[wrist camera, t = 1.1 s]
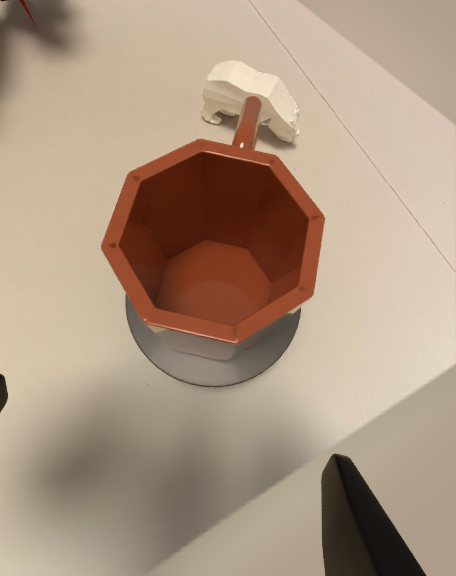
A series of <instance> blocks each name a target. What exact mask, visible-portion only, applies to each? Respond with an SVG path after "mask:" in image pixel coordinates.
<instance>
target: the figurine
mask: <svg viewBox="0 0 456 576" xmlns="http://www.w3.org/2000/svg"><path fill="white" fill-rule="evenodd" d="M249 96H256V97H258V98H259V99H260V100H261V102H262V114H261V119H260V125H268V127H269V128H270V129H271V130H272V131H273V132H274V133H275V135H276V136H277V137H278V139H280V140H283V141H286V142H291V141H293V140H292V139H293V138H292V137H295V136H297V135H299V132H300V130H299V129H298V127H297V120H298V116H299V114H298V113H299V112H300V109H297V106H296V103H295V101H294V100H293V98H292V97H291V96H290V94H289V93H288V91H287V90H286V88H285V86H284V85H283V83H282V81H281V79H280V78H278V77H276V76H274V75H271V74H266V73H260V72H258V71H256V70H254V69H253V68H251V67H249V66H247V65H246V64H244V63H242V62H240V61H227V62H220V63H218V64H217V65H216V66H215V67H214V68H213V69H212V71H211V73H210V75H209V76H208V78H207V80H206V84H205V89H204V92H203V99H204V101H205V103H204V107H203V109H202V110H201V113H202V115H203V117H204V119H205V120H206V121H209V122H211V123H213V124H214V123H215V124H217V123H219V122H221V121H220V120H221V118H220V117H218V116H216V114H215V112H217V111H220V112H221V113H223V114H225V115H229V116H234V115H236V114H237V115H240V112H241V108H242V105H243V102H244V100H245V99H246V98H248V97H249ZM219 124H220V123H219ZM258 136H259V135H258ZM258 136H257V137H258ZM258 138H259V137H258Z"/></svg>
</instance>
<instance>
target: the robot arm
mask: <svg viewBox="0 0 456 576" xmlns="http://www.w3.org/2000/svg"><path fill="white" fill-rule="evenodd" d="M7 399H8V392H7V387H6V381H5V377H4V376H3V375H2V374H0V412H1V411H2V409H3V408H4V406H5V404H6V402H7ZM321 485H322V487H321V488H322V490H321V491H322V547H323V558H324V567H325V576H426V574H425V573H424V571H423V570H422V568H421V567H420V565H419V564H418V562H417V560H416V559H415V557H414V556H413V554H412V553H411V551H410V550H409V548H408V547H407V545H406V544H405V542H404V540H403V539H402V537H401V536H400V534H399V533H398V531H397V530H396V528H395V526H394V525H393V523H392V522H391V520H390V519H389V517H388V516H387V514H386V513H385V511H384V510H383V508H382V506H381V505H380V504H379V502H378V500H377V499H376V497H375V496H374V494H373V493H372V491H371V490H370V488H369V486H368V485H367V483H366V482H365V480H364V479H363V477H362V476H361V474H360V472H359V471H358V469H357V468H356V466H355V465H354V463H353V462H352V460H351V459H350V458H349V457H347V456H344V455H340V454H333V455H332V456H331V457H330V459H329V461H328V463H327V465H326V467H325V468H324V470H323V473H322V480H321Z"/></svg>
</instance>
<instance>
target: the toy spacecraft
mask: <svg viewBox="0 0 456 576" xmlns="http://www.w3.org/2000/svg"><path fill="white" fill-rule="evenodd" d="M1 1H7V0H1ZM20 2H21V3H22V5H23V6H24V8H25V10H26V11H27V13H28V15H29V16H30V18H31V20H32V21H33V19H32V17H31V15H30V13H29V11H28V9H27V7H26V4H25V2H24V0H20ZM33 23H34V21H33ZM34 24H35V23H34ZM35 26H36V25H35ZM36 28H37V27H36Z"/></svg>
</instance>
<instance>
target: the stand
mask: <svg viewBox="0 0 456 576" xmlns="http://www.w3.org/2000/svg"><path fill="white" fill-rule="evenodd" d="M300 313H301V307H300V308H299V309H298V310H297V311H296V312H295V313H293V314H292V315H291V316H290V317H289V318H288V319H287V320H286V321H284V322H283V323H282V324H281V325H280V326H279V327H278V328H277V329H275V330H274V331H273V332H272V333H271V334H269V335H268V336H266V337H264V338H263V339H261V340H260V341H258V342H257V343H256V344H254V345H253V346H252V347H250V348H249V349H247V350H245V351H244V352H242V353H240V354H238V355H237V356H235V357H234V358H232V359H230V360H229V361H226V362H224V361H220V360H216V359H208V358H202V357H197V356H194V355H191V354H189V353H186V352H181V351H177V350H173V349H172V348H170V347H169V346H168V345H167V344H166V343H165V342H164V341H163V340H162V339H161V338H160V337H159V336H157V335H156V334H155V333H154V332H153V331H152V330H151V329H150V328H149V327H148V326H147V325H146V324H145V323H143V322H142V320H141V318H140V316H139V315H138V313H137V311H136V309H135V308H134V306H133V304H132V302H131V301H130V299H129V297H128V295H127V294H126V314H127V320H128V324H129V327H130V330H131V333H132V335H133V337H134V339H135V341H136V343H137V345H138V346H139V348H140V349H141V351H142V352H143V353H144V355H145V356H146V357H147V358H148V359H149V360H150V361H151V362H152V363H153V364H154V365H155V366H156V367H157V368H159V369H160V370H162V371H163V372H165V373H166V374H167V375H169V376H171V377H173V378H175V379H177V380H180V381H183V382H186V383H189V384H192V385H198V386H203V387H222V386H230V385H234V384H238V383H242V382H244V381H247V380H249V379H252V378H254V377H256V376H257V375H259V374H261V373H263V372H264V371H265V370H267V369H268V368H269V367H271V366H272V365H273V364H274V363H275V362H276V361H277V360H278V359H279V358H280V357H281V356H282V354H283V353H284V352H285V351H286V349H287V348H288V346H289V344H290V343H291V341H292V339H293V337H294V335H295V332H296V330H297V327H298V323H299V319H300Z"/></svg>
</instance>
